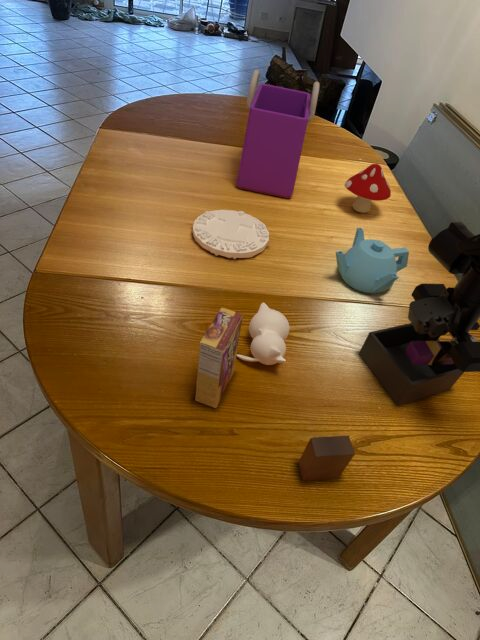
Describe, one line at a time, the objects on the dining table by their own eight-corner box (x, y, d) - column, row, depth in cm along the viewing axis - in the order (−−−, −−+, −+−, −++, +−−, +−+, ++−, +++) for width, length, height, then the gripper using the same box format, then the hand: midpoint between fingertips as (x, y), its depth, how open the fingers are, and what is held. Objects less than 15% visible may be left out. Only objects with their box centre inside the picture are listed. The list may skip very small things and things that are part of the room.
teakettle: (382, 308, 98) (400, 272, 90) (324, 280, 102) (337, 243, 95) (400, 278, 108) (419, 243, 100) (347, 253, 112) (361, 218, 105)
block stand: (333, 460, 68) (348, 435, 62) (338, 478, 66) (355, 454, 60) (297, 463, 67) (310, 437, 61) (302, 481, 65) (316, 456, 59)
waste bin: (449, 389, 83) (466, 369, 78) (397, 406, 78) (411, 385, 73) (408, 341, 91) (421, 320, 86) (358, 353, 86) (369, 332, 82)
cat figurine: (280, 341, 72) (280, 294, 81) (224, 354, 76) (230, 308, 84) (296, 370, 78) (295, 323, 86) (244, 381, 81) (248, 335, 90)
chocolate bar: (443, 349, 79) (449, 340, 78) (452, 364, 77) (459, 355, 75) (405, 350, 78) (410, 340, 76) (413, 365, 75) (419, 356, 74)
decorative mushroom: (339, 218, 125) (356, 170, 115) (334, 196, 135) (349, 150, 125) (385, 225, 126) (405, 178, 116) (377, 203, 136) (395, 158, 126)
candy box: (212, 364, 79) (221, 305, 68) (233, 372, 78) (246, 314, 67) (192, 400, 72) (198, 341, 62) (215, 409, 72) (225, 351, 61)
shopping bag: (306, 201, 130) (335, 97, 109) (236, 194, 127) (252, 86, 106) (293, 162, 150) (315, 67, 129) (233, 155, 147) (245, 57, 126)
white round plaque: (281, 238, 113) (283, 228, 111) (240, 270, 100) (242, 261, 98) (221, 209, 119) (222, 199, 117) (176, 236, 107) (176, 226, 105)
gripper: (404, 255, 71) (371, 320, 82) (458, 336, 58) (411, 400, 69) (461, 257, 73) (422, 320, 84) (526, 335, 61) (470, 398, 71)
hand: (429, 356), depth 77 cm, fingers closed on chocolate bar, 4 cm apart
